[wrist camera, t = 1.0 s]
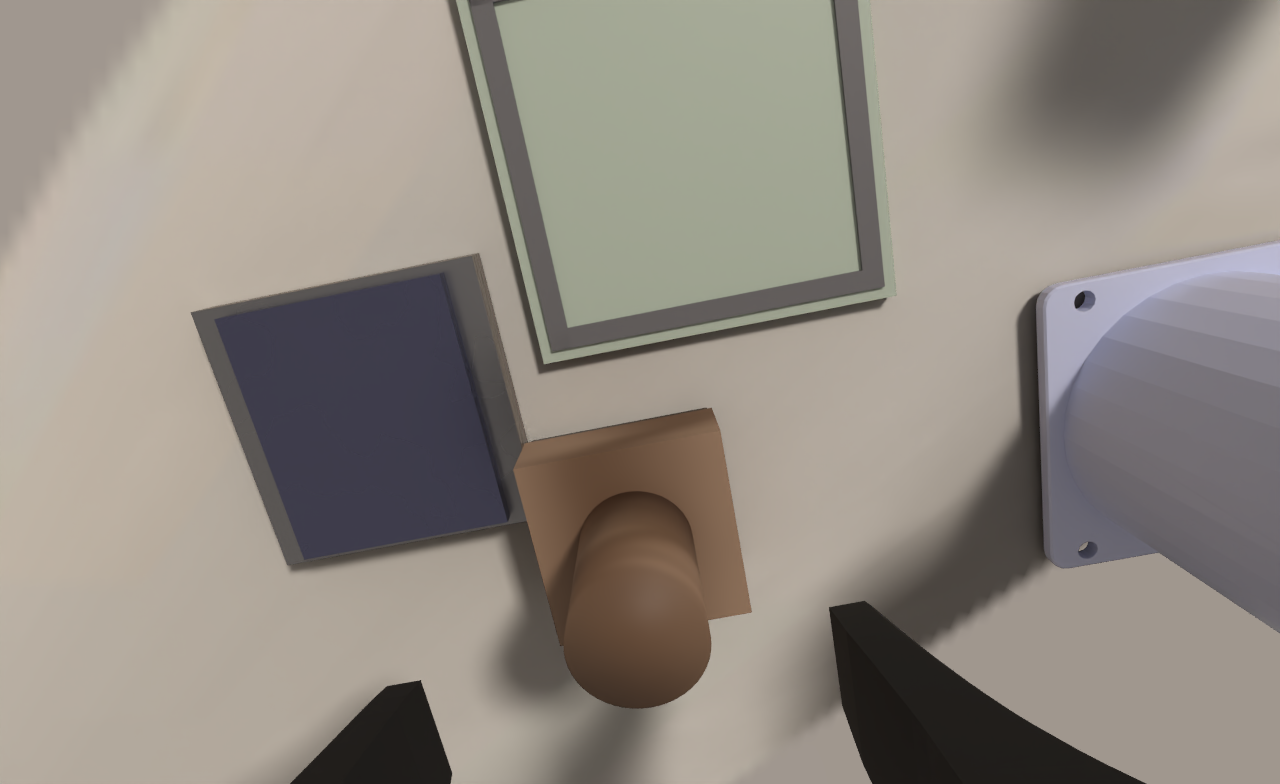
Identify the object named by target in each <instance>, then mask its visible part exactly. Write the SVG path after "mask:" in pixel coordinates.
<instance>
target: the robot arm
mask: <svg viewBox="0 0 1280 784" xmlns="http://www.w3.org/2000/svg"><path fill="white" fill-rule="evenodd" d="M1082 291H1083V292H1084V294H1085V300H1084V303H1083V304H1082V305H1081V306H1080V307H1079V308H1077V309H1076V308H1075V305H1074V301H1075V297H1076V296H1077V295H1078V294H1079V293H1080V292H1082ZM1036 322H1037V352H1038V382H1039V412H1040V442H1041V472H1042V502H1043V532H1044V552H1045V555H1046V557H1047V558H1048V559H1049V560H1050V561H1051V562H1052V563H1053V564H1055V565H1056V566H1058V567H1060V568H1073V567H1079V566H1084V565H1090V564H1096V563H1102V562H1107V561H1113V560H1119V559H1124V558H1130V557H1136V556H1142V555H1147V554H1152V553H1160V554H1162V555H1163V556H1165V557H1166V558H1168V559H1169V560H1171V561H1173V562H1174V563H1175V564H1177V565H1178V566H1180V567H1182V568H1183V569H1185V570H1186V571H1187V572H1189V573H1190V574H1192V575H1193V576H1195V577H1196V578H1198V579H1199V580H1201V581H1202V582H1204V583H1205V584H1207V585H1208V586H1210V587H1211V588H1213V589H1214V590H1216V591H1217V592H1219V593H1220V594H1222V595H1223V596H1225V597H1226V598H1228V599H1229V600H1231V601H1232V602H1234V603H1235V604H1237V605H1238V606H1240V607H1241V608H1243V609H1244V610H1246V611H1247V612H1249V613H1250V614H1252V615H1253V616H1255V617H1256V618H1258V619H1259V620H1261V621H1262V622H1264V623H1265V624H1267V625H1268V626H1270V627H1271V628H1273V629H1274V630H1276V631H1277V632H1279V633H1280V240H1278V241H1272V242H1267V243H1262V244H1257V245H1252V246H1247V247H1241V248H1236V249H1231V250H1226V251H1221V252H1216V253H1210V254H1205V255H1200V256H1195V257H1190V258H1185V259H1179V260H1174V261H1169V262H1164V263H1159V264H1153V265H1148V266H1143V267H1138V268H1133V269H1128V270H1122V271H1117V272H1112V273H1107V274H1102V275H1097V276H1091V277H1086V278H1081V279H1076V280H1071V281H1066V282H1060V283H1055V284H1053V285H1050V286H1048V287H1047V288H1045V289H1044V290H1043V291H1042V292H1041V294H1040V295H1039V297H1038V299H1037V304H1036ZM1086 542H1088V545H1087V547H1086V548H1085V549H1084V550H1081V551H1079V547H1080V546H1081V545H1082V544H1083V543H1086ZM829 611H830V618H831V625H832V633H833V640H834V647H835V655H836V662H837V670H838V677H839V684H840V692H841V699H842V706H843V709H844V712H845V715H846V717H847V720H848V723H849V726H850V729H851V732H852V735H853V738H854V740H855V743H856V746H857V748H858V751H859V754H860V757H861V760H862V762H863V765H864V767H865V769H866V771H867V773H868V776H869V778H870V780H871V782H872V784H1146V783H1144V782H1141V781H1139V780H1137V779H1135V778H1133V777H1131V776H1129V775H1127V774H1125V773H1123V772H1121V771H1119V770H1117V769H1115V768H1113V767H1110V766H1108V765H1106V764H1104V763H1102V762H1100V761H1099V760H1096V759H1095V758H1093V757H1091V756H1089V755H1087V754H1085V753H1083V752H1081V751H1079V750H1077V749H1076V748H1074V747H1072V746H1070V745H1069V744H1067V743H1065V742H1063V741H1061V740H1060V739H1058V738H1056V737H1054V736H1053V735H1051V734H1049V733H1047V732H1045V731H1044V730H1042V729H1040V728H1038V727H1037V726H1035V725H1033V724H1031V723H1030V722H1028V721H1026V720H1025V719H1023V718H1022V717H1020V716H1018V715H1017V714H1015V713H1014V712H1012V711H1010V710H1009V709H1007V708H1006V707H1004V706H1002V705H1001V704H1000V703H998V702H997V701H995V700H994V699H992V698H991V697H989V696H988V695H986V694H985V693H983V692H982V691H980V690H979V689H978V688H976V687H975V686H973V685H972V684H970V683H969V682H968V681H966V680H965V679H963V678H962V677H961V676H959V675H958V674H956V673H955V672H954V671H953V670H951V669H950V668H948V667H947V666H946V665H944V664H943V663H942V662H940V661H939V660H938V659H936V658H935V657H934V656H932V655H931V654H930V653H929V652H927V651H926V650H925V649H923V648H922V647H921V646H920V645H918V644H917V643H916V642H915V641H913V640H912V639H911V638H910V637H908V636H907V635H906V634H905V633H903V632H902V631H901V630H900V629H899V628H897V627H896V626H895V625H894V624H893V623H891V622H890V621H889V620H888V619H887V618H885V617H884V616H883V615H882V614H881V613H879V612H878V611H877V610H876V609H875V608H873V607H872V606H871V605H870V604H868V603H867V602H865V601H862V602H856V603H851V604H845V605H840V606H834V607H829ZM451 777H452V771H451V768H450V765H449V762H448V759H447V757H446V754H445V751H444V748H443V745H442V742H441V739H440V736H439V733H438V730H437V727H436V724H435V721H434V718H433V715H432V712H431V709H430V707H429V704H428V701H427V698H426V695H425V692H424V689H423V686H422V683H421V680H420V681H414V682H408V683H403V684H397V685H392V686H387V687H386V688H385V689H384V690H382V691H381V692H380V693H379V694H378V695H377V696H376V697H375V698H374V699H373V700H372V701H371V702H370V703H369V704H368V705H367V706H366V707H365V708H364V709H363V710H362V711H361V712H360V713H359V714H358V715H357V716H356V717H355V718H354V719H353V720H352V721H351V722H350V723H349V724H348V725H347V726H346V727H345V728H344V729H343V730H342V731H341V732H340V733H339V734H338V735H337V737H336V738H335V739H334V740H333V741H332V742H331V743H330V744H329V745H328V746H327V747H326V748H325V749H324V750H323V751H322V752H321V753H320V754H319V755H318V756H317V757H316V758H315V759H314V760H313V761H312V762H311V763H310V764H309V765H308V766H307V767H306V768H305V769H304V770H303V771H302V772H301V773H300V774H299V775H298V776H297V777H296V778H295V779H294V780H293V781H292V782H291V783H290V784H450V783H451Z"/></svg>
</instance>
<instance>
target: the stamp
mask: <svg viewBox="0 0 1280 784" xmlns="http://www.w3.org/2000/svg"><path fill="white" fill-rule="evenodd" d="M513 471H514V475H515V478H516V482H517V486H518V489H519V493H520V497H521V501H522V504H523V508H524V512H525V516H526V519H527V523H528V527H529V531H530V534H531V538H532V542H533V546H534V549H535V553H536V557H537V561H538V564H539V568H540V572H541V575H542V579H543V583H544V587H545V590H546V594H547V598H548V602H549V605H550V609H551V613H552V617H553V620H554V624H555V628H556V632H557V635H558V639H559V643H560V646H564V655H565V660H566V663H567V666H568V668H569V670H570V672H571V674H572V676H573V677H574V678H575V680H576V681H577V682H578V684H579V685H580V686H581V687H582V688H583V689H584V690H586V691H587V692H588V693H589V694H591V695H592V696H594V697H596V698H597V699H599V700H601V701H604V702H606V703H609V704H612V705H615V706H619V707H624V708H649V707H655V706H659V705H662V704H665V703H668V702H671V701H673V700H675V699H677V698H678V697H680V696H682V695H683V694H685V693H686V692H687V691H688V690H690V689H691V688H692V687H693V686H694V685H695V684H696V683H697V682H698V680H699V679H700V677H701V676H702V675H703V673H704V671H705V669H706V667H707V664H708V662H709V659H710V653H711V636H710V629H709V624H708V620H711V619H717V618H723V617H728V616H734V615H740V614H746V613H751V612H752V611H751V605H750V600H749V594H748V588H747V582H746V577H745V571H744V565H743V559H742V554H741V548H740V542H739V536H738V530H737V525H736V519H735V513H734V507H733V502H732V496H731V490H730V484H729V479H728V473H727V467H726V461H725V455H724V450H723V444H722V438H721V432H720V429H719V426H718V423H717V421H716V418H715V416H714V413H713V410H712V408H708V409H707V408H702V409H697V410H691V411H686V412H681V413H676V414H670V415H665V416H660V417H655V418H649V419H644V420H639V421H634V422H628V423H623V424H618V425H613V426H607V427H602V428H597V429H592V430H586V431H581V432H576V433H571V434H565V435H560V436H555V437H549V438H544V439H539V440H534V441H531V442H529V443H525V444H524V446H523V449H522V451H521V453H520V455H519V458H518V460H517V462H516V464H515V467H514V469H513Z"/></svg>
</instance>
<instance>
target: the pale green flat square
mask: <svg viewBox="0 0 1280 784" xmlns="http://www.w3.org/2000/svg"><path fill="white" fill-rule="evenodd" d="M456 3H457V7H458V11H459V15H460V19H461V24H462V28H463V32H464V36H465V40H466V44H467V48H468V52H469V57H470V61H471V65H472V69H473V73H474V77H475V81H476V85H477V90H478V94H479V98H480V102H481V106H482V110H483V114H484V118H485V123H486V127H487V131H488V135H489V139H490V143H491V147H492V152H493V156H494V160H495V164H496V168H497V172H498V176H499V180H500V185H501V189H502V193H503V197H504V201H505V205H506V209H507V213H508V218H509V222H510V226H511V230H512V234H513V238H514V242H515V246H516V251H517V255H518V259H519V263H520V267H521V271H522V275H523V280H524V284H525V288H526V292H527V296H528V300H529V304H530V308H531V313H532V317H533V321H534V325H535V329H536V333H537V337H538V341H539V346H540V350H541V354H542V358H543V362H544V364H548V363H553V362H558V361H563V360H568V359H574V358H579V357H584V356H589V355H594V354H599V353H604V352H610V351H615V350H620V349H625V348H630V347H635V346H640V345H645V344H651V343H656V342H661V341H666V340H671V339H676V338H681V337H687V336H692V335H697V334H702V333H707V332H712V331H717V330H723V329H728V328H733V327H738V326H743V325H748V324H753V323H759V322H764V321H769V320H774V319H779V318H784V317H789V316H795V315H800V314H805V313H810V312H815V311H820V310H825V309H831V308H836V307H841V306H846V305H851V304H856V303H861V302H867V301H872V300H877V299H882V298H887V297H892V296H897V294H896V283H895V272H894V261H893V250H892V239H891V228H890V217H889V206H888V195H887V184H886V172H885V161H884V150H883V139H882V128H881V117H880V106H879V95H878V84H877V73H876V62H875V51H874V40H873V29H872V18H871V7H870V0H456Z"/></svg>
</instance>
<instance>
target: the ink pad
mask: <svg viewBox="0 0 1280 784" xmlns="http://www.w3.org/2000/svg"><path fill="white" fill-rule="evenodd" d="M191 315H192V317H193V320H194V322H195V325H196V328H197V330H198V333H199V335H200V338H201V341H202V343H203V346H204V348H205V351H206V354H207V356H208V359H209V362H210V364H211V367H212V369H213V372H214V375H215V377H216V380H217V382H218V385H219V388H220V390H221V393H222V395H223V398H224V401H225V403H226V406H227V408H228V411H229V414H230V416H231V419H232V422H233V424H234V427H235V429H236V432H237V435H238V437H239V440H240V442H241V445H242V448H243V450H244V453H245V455H246V458H247V461H248V463H249V466H250V469H251V471H252V474H253V476H254V479H255V482H256V484H257V487H258V489H259V492H260V495H261V497H262V500H263V502H264V505H265V508H266V510H267V513H268V515H269V518H270V521H271V523H272V526H273V529H274V531H275V534H276V536H277V539H278V542H279V544H280V547H281V549H282V552H283V555H284V557H285V560H286V562H287V565H291V564H297V563H302V562H308V561H313V560H318V559H324V558H329V557H335V556H340V555H346V554H351V553H356V552H362V551H367V550H373V549H378V548H384V547H389V546H394V545H400V544H405V543H411V542H416V541H421V540H427V539H432V538H438V537H443V536H449V535H454V534H459V533H465V532H470V531H476V530H481V529H487V528H492V527H497V526H503V525H508V524H514V523H519V522H524V521H527V519H526V516H525V512H524V508H523V504H522V501H521V497H520V493H519V489H518V486H517V482H516V478H515V475H514V471H513V469H514V467H515V464H516V462H517V460H518V458H519V455H520V453H521V451H522V449H523V446H524V444H525V443H528V441H527V437H526V434H525V430H524V426H523V422H522V418H521V414H520V410H519V406H518V402H517V399H516V395H515V391H514V387H513V383H512V379H511V375H510V371H509V368H508V364H507V360H506V356H505V352H504V348H503V344H502V340H501V336H500V333H499V329H498V325H497V321H496V317H495V313H494V309H493V305H492V302H491V298H490V294H489V290H488V286H487V282H486V278H485V274H484V270H483V267H482V263H481V259H480V255H479V253H477V254H472V255H467V256H462V257H457V258H452V259H447V260H442V261H437V262H432V263H427V264H422V265H418V266H413V267H408V268H403V269H398V270H393V271H388V272H383V273H378V274H373V275H368V276H363V277H358V278H353V279H348V280H344V281H339V282H334V283H329V284H324V285H319V286H314V287H309V288H304V289H299V290H294V291H289V292H284V293H279V294H274V295H269V296H265V297H260V298H255V299H250V300H245V301H240V302H235V303H230V304H225V305H220V306H215V307H210V308H206V309H202V310H199V311H195V312H191Z"/></svg>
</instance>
